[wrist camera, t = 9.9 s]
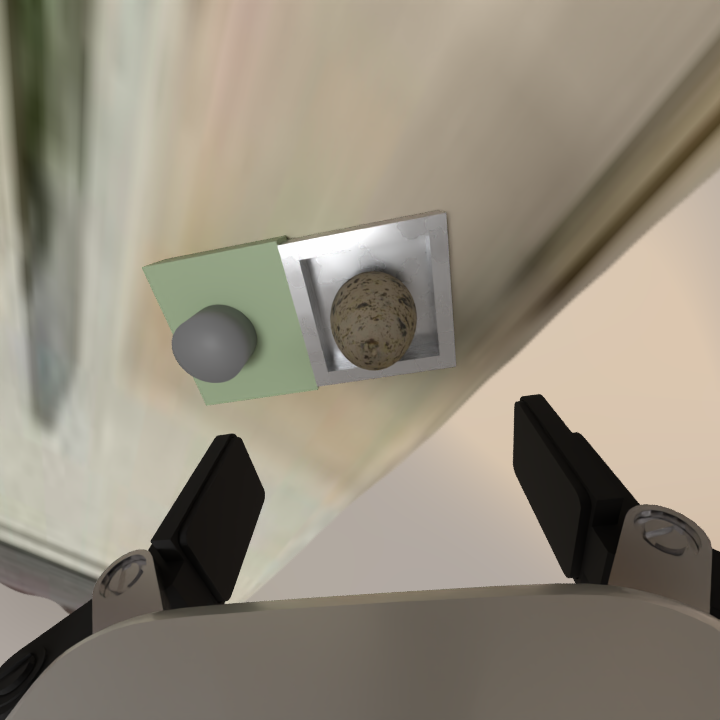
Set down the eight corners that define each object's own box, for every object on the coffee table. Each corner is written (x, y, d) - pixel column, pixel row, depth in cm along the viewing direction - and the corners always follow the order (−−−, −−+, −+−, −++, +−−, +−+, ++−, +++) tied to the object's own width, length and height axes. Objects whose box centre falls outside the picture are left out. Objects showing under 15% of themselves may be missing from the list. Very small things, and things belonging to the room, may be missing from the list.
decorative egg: (329, 325, 28) (309, 388, 19) (345, 253, 25) (330, 288, 17) (398, 341, 29) (410, 411, 20) (420, 272, 26) (445, 317, 17)
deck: (285, 235, 26) (263, 248, 20) (322, 372, 31) (312, 410, 26) (164, 259, 27) (112, 277, 21) (220, 387, 32) (189, 427, 27)
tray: (438, 209, 24) (446, 212, 22) (448, 350, 30) (456, 366, 27) (287, 239, 26) (277, 245, 23) (321, 369, 31) (317, 386, 28)
